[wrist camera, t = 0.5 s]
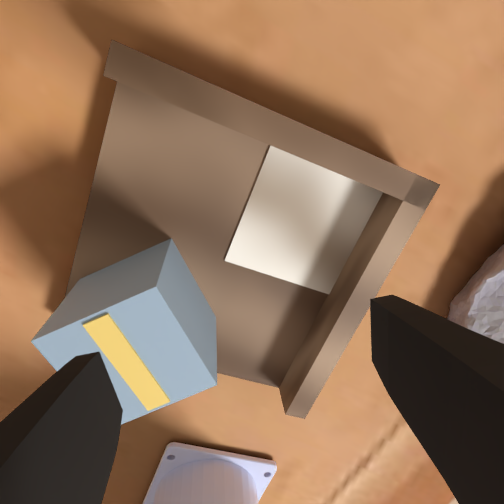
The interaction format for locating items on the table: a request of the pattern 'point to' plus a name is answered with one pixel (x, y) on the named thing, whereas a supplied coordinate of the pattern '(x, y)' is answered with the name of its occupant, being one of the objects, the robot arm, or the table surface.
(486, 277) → the stone block
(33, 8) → the table surface
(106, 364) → the cube
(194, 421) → the table surface
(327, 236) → the tray
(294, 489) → the table surface
